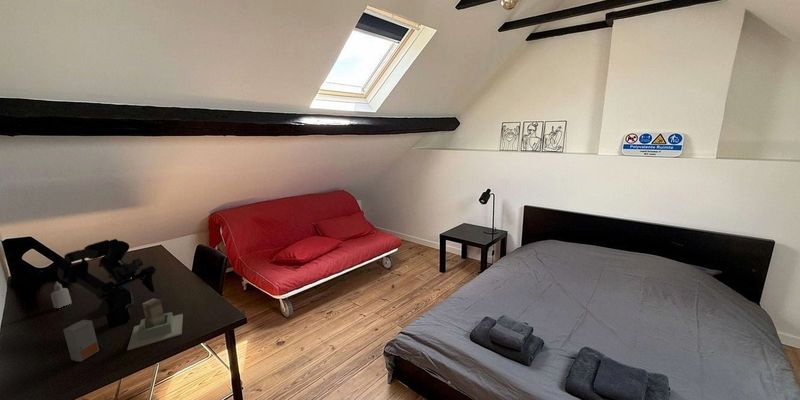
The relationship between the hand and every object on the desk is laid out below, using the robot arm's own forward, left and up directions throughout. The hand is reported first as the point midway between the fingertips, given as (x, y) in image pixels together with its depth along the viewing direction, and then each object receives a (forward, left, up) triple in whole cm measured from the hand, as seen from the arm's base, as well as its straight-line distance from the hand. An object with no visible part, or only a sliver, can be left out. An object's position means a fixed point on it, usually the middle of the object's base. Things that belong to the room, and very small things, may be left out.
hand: (141, 297), depth 124 cm
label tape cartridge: (-11, +31, -14) cm, 36 cm away
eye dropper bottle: (-35, +43, -14) cm, 57 cm away
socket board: (+3, -4, -13) cm, 14 cm away
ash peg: (+3, -4, -13) cm, 14 cm away
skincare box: (-17, -7, -14) cm, 23 cm away
